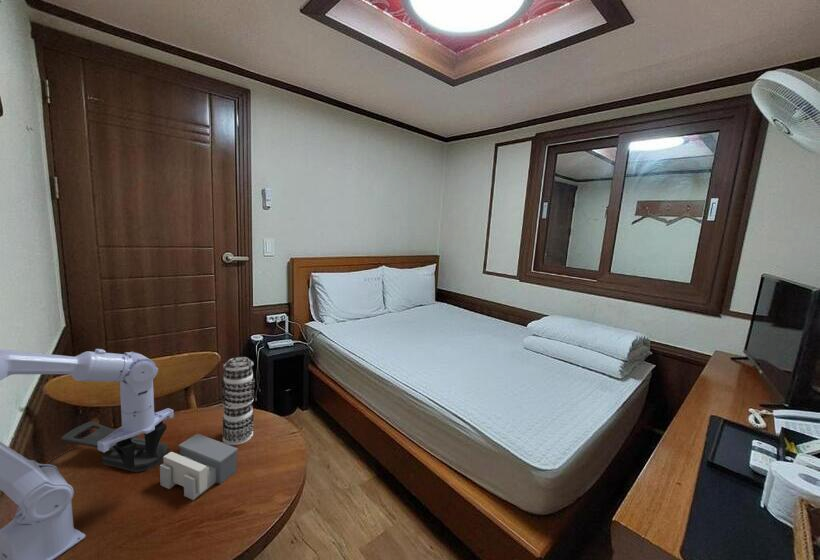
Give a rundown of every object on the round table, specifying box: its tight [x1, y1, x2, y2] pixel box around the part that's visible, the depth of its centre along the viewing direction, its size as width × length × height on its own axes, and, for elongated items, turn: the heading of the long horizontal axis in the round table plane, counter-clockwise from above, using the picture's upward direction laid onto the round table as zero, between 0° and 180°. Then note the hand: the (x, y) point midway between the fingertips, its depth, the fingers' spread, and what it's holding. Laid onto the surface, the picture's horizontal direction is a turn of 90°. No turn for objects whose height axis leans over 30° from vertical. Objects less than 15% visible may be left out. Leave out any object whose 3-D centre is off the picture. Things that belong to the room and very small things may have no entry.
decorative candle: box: [220, 356, 256, 446], centre depth 99 cm, size 9×9×25 cm
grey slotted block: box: [159, 433, 239, 501], centre depth 84 cm, size 11×14×7 cm
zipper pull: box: [60, 420, 170, 473], centre depth 89 cm, size 9×7×25 cm
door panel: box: [163, 451, 208, 494], centre depth 81 cm, size 12×2×6 cm, turn 71°
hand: (140, 460), depth 76 cm, fingers open, 4 cm apart
